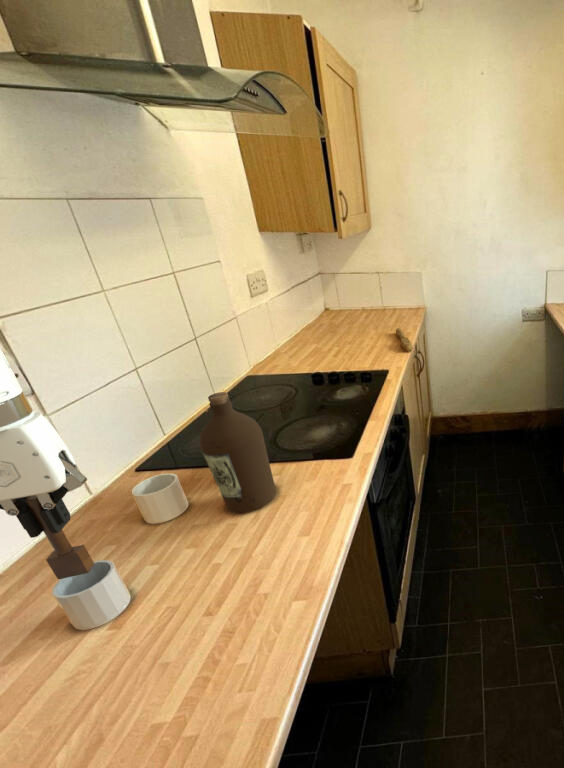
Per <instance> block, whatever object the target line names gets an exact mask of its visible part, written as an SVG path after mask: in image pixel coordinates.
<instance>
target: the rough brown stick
mask: <svg viewBox="0 0 564 768" xmlns="http://www.w3.org/2000/svg"><path fill="white" fill-rule="evenodd" d="M395 334H396V335H397V336H398V338H399V339H400V343H401V347H402V349H403V350H404V351H406V352H409V353H410V352H411V351H412V350H413V347H412V342H411V340H410V339H409V337H406V336H405V333H404V332H403V329H401V328H400V327H399V328H398V327H397V328H396V329H395Z"/></svg>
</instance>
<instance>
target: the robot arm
mask: <svg viewBox="0 0 564 768" xmlns="http://www.w3.org/2000/svg"><path fill="white" fill-rule="evenodd" d="M87 481H88V477H86V476H85V474H83V473H82V472H80V471H79V469H78V466H77V462H76V460H75V458H74V456H73V454H72V453H71V450H70V449H69V447H68V446H67V444H66V443H65V441H64V440H63V438H62V437H61V435H60V434H59V432H58V431H57V430H56V429H55V427H54V426H53V425H52V424H51V423H50V421H48V419H47V418H46V417H45V416H44V415H43V414H42V413H41V412H39V411H38V412H35V411H34V409H33V407H32V405H31V403H30V401H29V399H28V398H27V396H26V394H25V392H24V390H23V388H22V386H21V385H20V382H19V381H18V379H17V377H16V375H15V373H14V371H13V369H12V367H11V365H10V363H9V361H8V360H7V358H6V356H5V354H4V352H3V350H2V348H1V347H0V510H3V511H4V512H5V513H6V514H7V515H8V516H11V517H16V518H17V520H18V521H19V523H20V525H21V527H22V528H23V530H25V531H26V533H27V535H28V536H29V538H31V539H33V538H37V537H38V536H40V535H41V534H42V533H44V532H43V530H42V528H41V526H40V525H39V523H38V521H37V520H36V518H35V516H34V515H33V513H32V511H31V510H30V508H29V506H28V504H27V503H26V501H25V499H26V498H27V497H29V496H33V495H36V496H37V498H38V500H39V502H40V503H41V505H42V507H43V509H42V510H41V512H40V514H41V516H42V518H43V520H44V521H45V523H46V525H47V527H48V528H49V530H50V532H51V533H59V532H60V531H61V530H63V529H64V528H65V527H66V525H67V524H68V523H69V522H70V520H71V513H70V511H69V509H68V508H67V506H66V504H65V502H64V500H63V499H64V497H65V496H66V495H67V494H68V493H69V492H72V491H74V490H76V489H78V488H81V487H82V486H83V485H84V484H85V483H86V482H87Z"/></svg>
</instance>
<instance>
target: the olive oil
mask: <svg viewBox="0 0 564 768" xmlns="http://www.w3.org/2000/svg"><path fill="white" fill-rule="evenodd" d="M228 394H229V393H228V392H226V391H218V392H215V393H212V394H210V395H209V396H207V399H208V402H209V407H210V410H211V413H212V416H211V417H210V419H209V420H208V422H207V423H206V424H205V426H204V427H203V428H202V430H201V433H200V435H199V448H200V451H201V453H202V455H203V458H204V460H205V462H206V464H207V466H208V468H209V471H210V472H211V475H212V476H213V479H214V481H215V484H216V486H217V489H218V490H219V492H220V495H221V497H222V501H223V502H224V505H225V507H226V510H228V512H231V513H233V514H247V513H252V512H255V511H257V510H260V509H261V508H264V507H265V506H267V505H268V504H270V503H271V502H272V501H273V500H274V498H276V495H277V488H276V483H275V481H274V476H273V473H272V469H271V464H270V460H269V455H268V451H267V447H266V443H265V438H264V433H263V430H262V428H261V426H260V424H259V423H258V422H257V421H256V420H255V419H254V418H252V417H251V416H249V415H247V414H244V413H242V412H239V411H237V410H235V409H234V408H233V405H232V401H231V398H229V395H228Z"/></svg>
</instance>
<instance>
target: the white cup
mask: <svg viewBox="0 0 564 768" xmlns="http://www.w3.org/2000/svg"><path fill="white" fill-rule="evenodd" d="M131 495H132V497H133V499H134V501H135V503H136V505H137V508H138V509H139V512H140V514H141V516H142V518H143V520H144V521H145V522H146V523H147V524H151V525H152V524H153V525H156V524H162V523H166V522H168V521H171V520H173V519H175V518H177V517H178V516H181V515H182V514H183V513H184V512H185V511H186V510H187V509H188V508H189V500H188V499H187V495H186V493H185V491H184V488H183V486H182V483H181V482H180V479H179V477H178V475H177V474H176V473H171V472H170V473H167V472H166V473H161V474H160V473H159V474H156V475H153V476H151V477H148V478H146V479H143V480H141V481H140V482H138V483H137V484H136V485H135V486H134V487H133V488H132V489H131Z"/></svg>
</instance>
